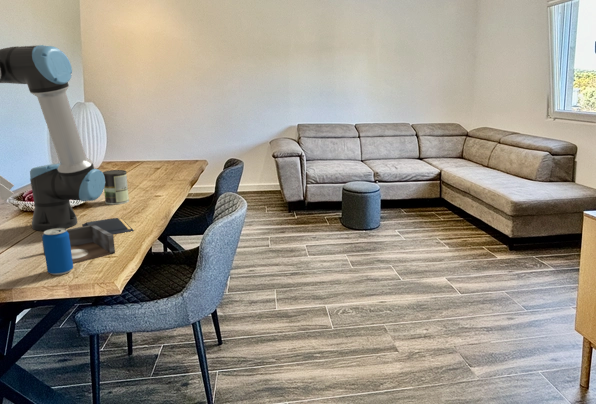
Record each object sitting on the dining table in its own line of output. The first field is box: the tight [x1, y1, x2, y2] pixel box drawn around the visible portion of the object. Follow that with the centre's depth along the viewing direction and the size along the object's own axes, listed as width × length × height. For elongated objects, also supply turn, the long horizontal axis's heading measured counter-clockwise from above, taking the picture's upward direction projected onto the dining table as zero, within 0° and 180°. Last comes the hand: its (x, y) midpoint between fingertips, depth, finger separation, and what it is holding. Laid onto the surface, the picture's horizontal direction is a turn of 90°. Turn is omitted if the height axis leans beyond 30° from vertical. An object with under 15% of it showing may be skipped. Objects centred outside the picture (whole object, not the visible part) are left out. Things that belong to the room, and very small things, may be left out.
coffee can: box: [102, 169, 130, 206], centre depth 203 cm, size 10×10×14 cm
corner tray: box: [40, 224, 116, 265], centre depth 140 cm, size 16×16×6 cm
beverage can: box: [41, 228, 74, 276], centre depth 124 cm, size 6×6×12 cm
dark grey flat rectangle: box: [81, 217, 135, 236], centre depth 166 cm, size 20×2×15 cm
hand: (10, 193), depth 116 cm, fingers open, 13 cm apart
